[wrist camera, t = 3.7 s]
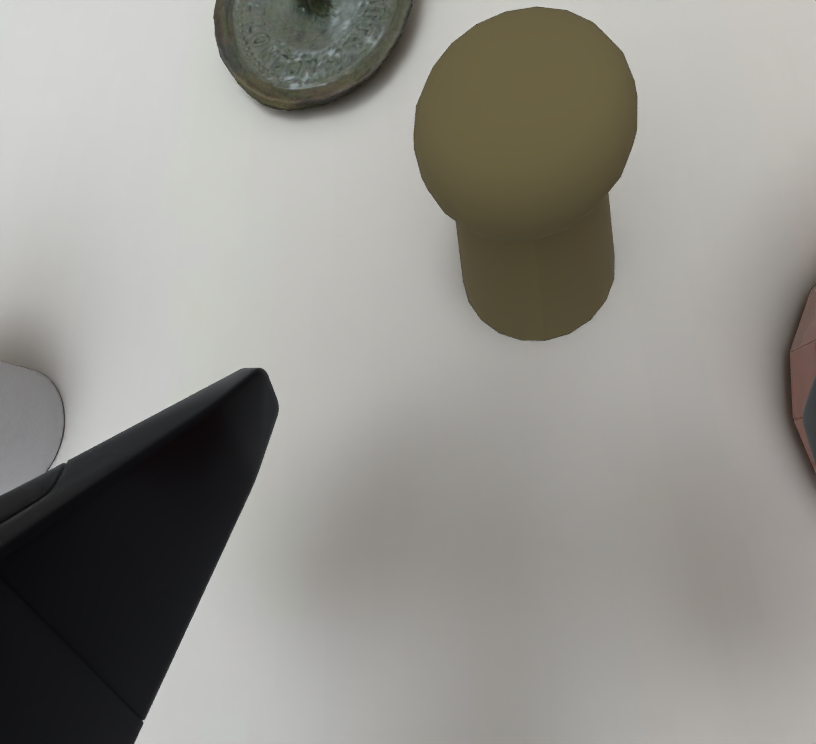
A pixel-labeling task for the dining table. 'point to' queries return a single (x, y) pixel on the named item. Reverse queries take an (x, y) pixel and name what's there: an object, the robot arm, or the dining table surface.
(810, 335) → the bowl
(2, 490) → the coffee cup
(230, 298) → the dining table surface
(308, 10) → the lid
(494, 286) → the olive game pawn
